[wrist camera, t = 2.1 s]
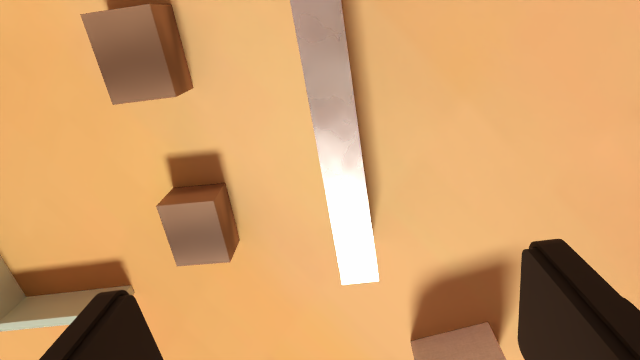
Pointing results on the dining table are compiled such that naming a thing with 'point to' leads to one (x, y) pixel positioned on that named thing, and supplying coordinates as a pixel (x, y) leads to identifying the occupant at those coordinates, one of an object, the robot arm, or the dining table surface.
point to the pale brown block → (459, 345)
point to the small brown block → (199, 224)
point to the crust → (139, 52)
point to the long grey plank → (336, 133)
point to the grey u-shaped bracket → (41, 304)
